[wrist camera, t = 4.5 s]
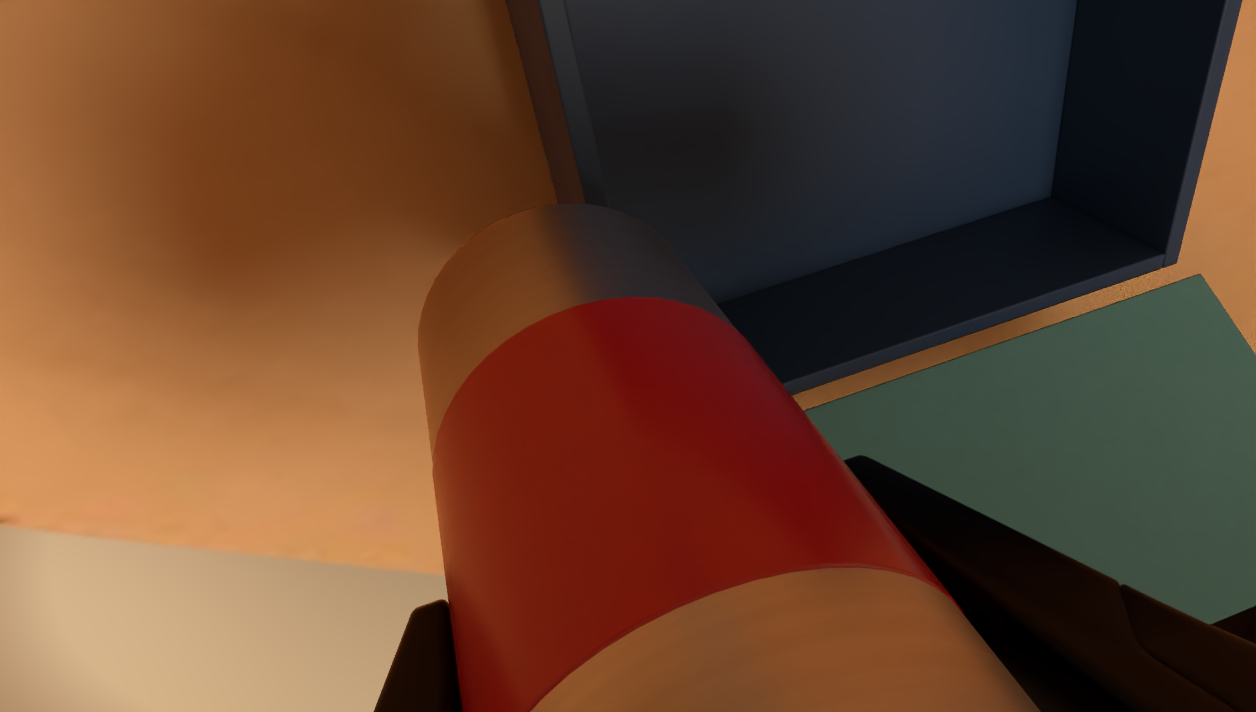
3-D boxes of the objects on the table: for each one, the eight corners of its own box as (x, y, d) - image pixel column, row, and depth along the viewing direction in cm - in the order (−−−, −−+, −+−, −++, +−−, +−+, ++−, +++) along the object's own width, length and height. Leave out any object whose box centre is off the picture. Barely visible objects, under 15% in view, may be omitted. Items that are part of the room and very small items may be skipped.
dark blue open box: (1050, 200, 26) (1177, 263, 22) (595, 347, 24) (642, 447, 20) (1143, -475, 17) (1387, -576, 13) (420, -328, 15) (443, -394, 11)
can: (707, 400, 17) (1114, 1037, 8) (464, 478, 16) (604, 1282, 7) (674, 165, 14) (1281, 766, 5) (372, 249, 13) (412, 1149, 4)
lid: (1200, 272, 21) (1190, 279, 22) (653, 462, 19) (652, 466, 20) (1389, 550, 19) (1374, 552, 19) (779, 803, 17) (775, 799, 17)
